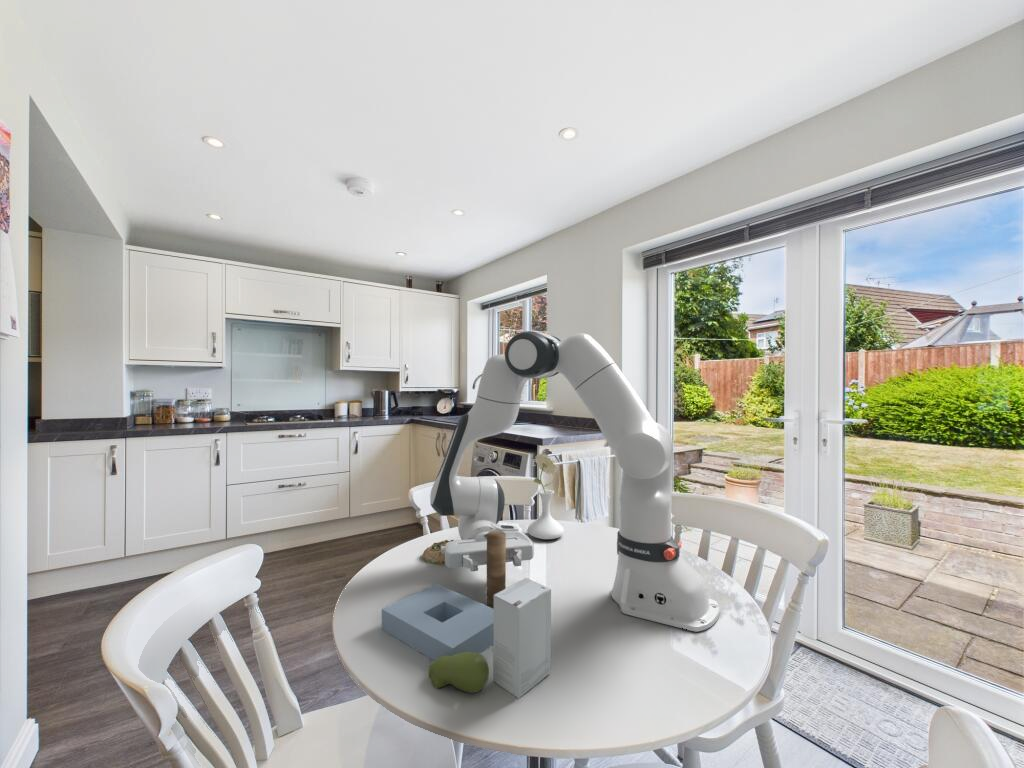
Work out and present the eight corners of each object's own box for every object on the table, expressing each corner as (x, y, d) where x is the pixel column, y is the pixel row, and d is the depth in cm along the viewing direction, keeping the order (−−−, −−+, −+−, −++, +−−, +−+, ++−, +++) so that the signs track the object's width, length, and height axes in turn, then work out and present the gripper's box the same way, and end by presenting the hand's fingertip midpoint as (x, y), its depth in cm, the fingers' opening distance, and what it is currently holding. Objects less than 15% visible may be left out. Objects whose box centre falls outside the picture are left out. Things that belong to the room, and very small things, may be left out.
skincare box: (525, 659, 80) (526, 575, 80) (552, 675, 76) (553, 586, 76) (490, 683, 74) (491, 592, 74) (518, 701, 70) (519, 605, 70)
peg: (509, 608, 98) (509, 533, 97) (496, 616, 95) (497, 539, 94) (495, 602, 100) (495, 529, 100) (482, 609, 97) (482, 534, 97)
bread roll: (450, 545, 133) (451, 529, 132) (471, 563, 125) (472, 545, 124) (415, 556, 126) (415, 539, 125) (435, 575, 118) (435, 557, 117)
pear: (477, 666, 70) (420, 664, 73) (483, 702, 69) (425, 697, 73) (491, 646, 75) (437, 644, 78) (496, 678, 75) (441, 675, 78)
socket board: (506, 635, 88) (506, 614, 88) (452, 671, 77) (452, 648, 77) (436, 601, 100) (436, 583, 100) (381, 629, 90) (381, 608, 89)
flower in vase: (571, 540, 138) (571, 457, 137) (536, 545, 134) (537, 459, 133) (551, 526, 150) (552, 450, 150) (519, 530, 146) (519, 452, 145)
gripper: (439, 532, 107) (447, 555, 94) (523, 525, 113) (541, 545, 100) (439, 559, 108) (447, 585, 94) (523, 550, 113) (541, 574, 100)
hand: (496, 565), depth 97 cm, fingers open, 8 cm apart
